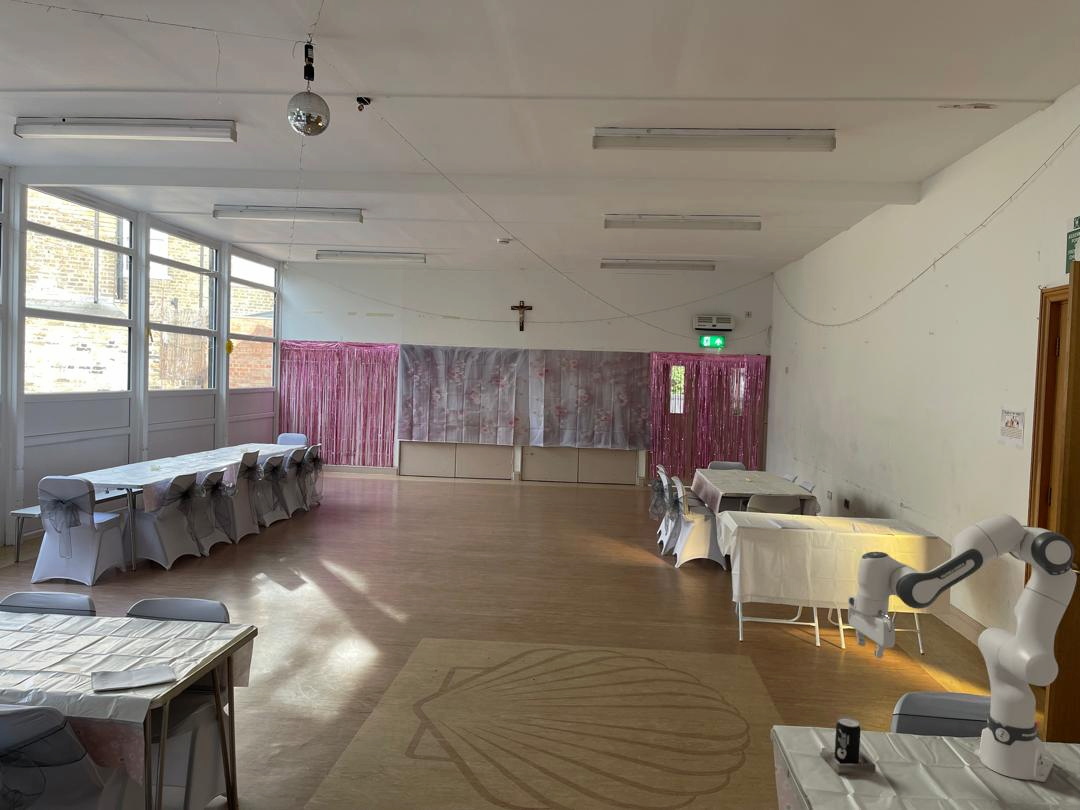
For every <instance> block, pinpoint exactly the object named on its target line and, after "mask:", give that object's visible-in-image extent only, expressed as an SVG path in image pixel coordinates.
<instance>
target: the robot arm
mask: <svg viewBox="0 0 1080 810" xmlns="http://www.w3.org/2000/svg"><path fill="white" fill-rule="evenodd" d="M952 550H953V555H952V556H951V557H950V558H949V559H947V560H946V561H945V562H943V563H941V564H939V565H938V566H936V567H935V568H932V569H931V570H929V571H925V572H924V571H923V572H922V571H918V570H917V569H915V568H913V567H912V566H911V565H908V564H905V563H903V562H901V561H898V560H896V559H894V558H893V557H892V556H890V555H889V554H888V553H886V552H883V551H869V552H867V553H864V554H863V555H862V556H861V558H860V560H859V563H858V564H859V565H858V571H857V573H858V574H857V583H858V589H857V591H856V596H848V598H847V603H848V604H849V605H848V609H847V622H848V624H849V626H850V628H853V629H854V630H855V634H856V635H855V636H856V638H857V645H859V646H860V647H865V646H866V642H867V641H866V640H865V637H867V638H868V639H870V640H871V641H873V642H874V643H876V647H877V648H876V650H875V649H874V657H876V658H877V659H882V658H883V657H884V656H883V655H884V653H885V650H886V649H887V648H894V646H895V645H896V631H895V628H896V627H895V624H894V622H893V620H892V618H891V615H889V606H890V605H889V602H890V596H896V597H897V598H899V599H900V600H901V601H902V602H903V603H904V604H905V605H906V606H907V607H910V608H912V609H919V610H920V609H925V608H928V607H929V606H931V605H932V604H933V603H934V602H935V601H936V600H937V599H938V598H939V596H940V595H941V594H943V593H944V592H945V591H946V590H949V589H950V588H951V587H953V586H955V585H956V584H958V583H959V582H962V581H963V580H965V579H966V578H968V577H969V576H971V575H973V574H974V573H976V572H977V571H978V570H979V569H980V568H981V567H982V566H984V565H986V564H988V563H990V562H991V561H993V560H995V559H998V558H999V557H1001V556H1003V555H1005V554H1007V553H1008V554H1010V556H1012V557H1013V558H1015V559H1017V560H1019V561H1022V562H1024V563H1026V564H1029V565H1031V575H1030V578H1029V580H1028V581H1027V583H1026V584H1025V586H1024V588H1023V590H1022V592H1021V595H1020V597H1019V598H1018V600H1017V603H1016V604H1015V607H1014V608H1013V615H1014V617H1015V619H1016V630H1015V633H1014V632H1012V631H1010V630H1007V629H1003V628H999V627H988V628H986V629H985V630H983V631H982V632H981V633H980V635H979V636H978V639H977V647H978V650H979V651H980V653H981V655H982V656H983V659H984V662H985V666H986V671H987V675H988V679H989V685H990V708H989V709H990V711H989V712H988V714H987V721H986V722H987V727H985V728H982V731H981V737H980V744H979V748H977V749H976V748H975V749H974V755H975V756H977V758H979V759H980V761H981V763H982V764H983V765H984V766H985V767H987V768H988V769H990V770H992V771H994V772H996V773H997V774H1000V775H1003V776H1006V777H1010V778H1013V779H1019V780H1028V781H1029V780H1032V781H1037V782H1042V783H1043V782H1044V783H1045V782H1046V781H1047V779H1048V777H1049V775H1050V773H1051V771H1052V768H1053V766H1054V760H1052V759H1051V758H1049V757H1048V756H1045V752H1046V749H1045V748H1046V747H1045V743H1044V742H1043V741H1041V739H1040V738H1039V737H1038V734H1037V733H1038V729H1039V727H1040V721H1038V720H1036V718H1035V717H1036V704H1037V703H1036V701H1037V700H1036V696H1035V694H1034V693H1033V691H1032V689H1031V686H1030V685H1034V686H1038V687H1045V686H1048V685H1050V684H1052V683H1053V682H1054V681H1055V679H1056V678H1057V677H1058V674H1059V665H1058V663H1057V661H1056V657H1055V652H1054V651H1055V649H1054V646H1055V637H1056V633H1057V630H1058V627H1059V624H1060V623H1061V620H1062V619H1063V616H1064V615H1065V612H1066V610H1067V608H1068V606H1069V604H1070V601H1071V599H1072V597H1073V594H1074V592H1075V589H1076V583H1077V578H1078V577H1077V573H1076V572H1075V571H1074V569H1072V568H1073V560H1074V555H1075V549H1074V546H1073V544H1072V542H1071V541H1070V540H1069V539H1068V538H1067V537H1066V536H1064V535H1062V534H1061V533H1059V532H1057V531H1056V532H1055V531H1051V530H1048V529H1046V528H1042V527H1032V526H1028V525H1022V524H1021V523H1020V522H1019V521H1018V519H1016V518H1015V517H1013V516H1012V515H1008V514H997V515H994V516H992V517H991V516H990V517H988V518H985V519H983V520H980V521H978V522H976V523H973V524H971V525H969V526H967V527H965V528H963V529H962V530H961V531H959V532H958V533H957V534H956V535H955V536H954V537H953V540H952ZM864 636H865V637H864ZM1029 684H1030V685H1029Z"/></svg>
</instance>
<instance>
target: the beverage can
mask: <svg viewBox="0 0 1080 810" xmlns="http://www.w3.org/2000/svg"><path fill="white" fill-rule="evenodd" d="M835 724H836V725H835V741H834V742H835V744H834V752H835V756H834V757H835V758H836V760H837V761H838V762H839V763H840V764H858V763H859V750H861V748H860V745H861V730H862V729H861V726H860V722H859V721H858V720H857V719H854V718H852V717H848V716H847V717H846V716H841V717H839V718H837V722H836V723H835Z"/></svg>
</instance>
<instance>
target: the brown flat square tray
mask: <svg viewBox="0 0 1080 810" xmlns="http://www.w3.org/2000/svg"><path fill="white" fill-rule="evenodd" d="M819 756H820V757H821V758H822V759H823V761H825V762H826V764H827V765H828V764H829V765H828V766H829V767H830V768H831V769H832V770H833V771H834V772H835V773H836V774H837V776H868V775H867V774H875V775H876V764H875V763H874V762H873V760H871V759H870V758H868V757H867V755H866V754H865V753H863V752H862V751H861V749H859V763H858V764H840V763H839V762H838V761H837V760H836V758H835V757H834V756H835V751H834V752H830V751H829V750H828V749H827V747H821V752H820V753H819Z"/></svg>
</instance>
